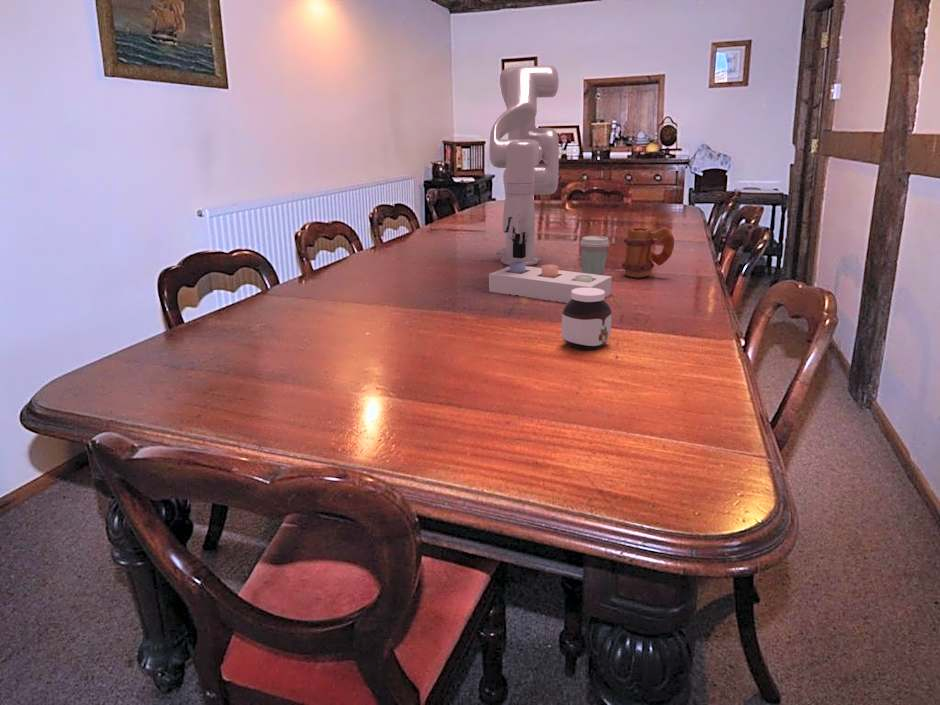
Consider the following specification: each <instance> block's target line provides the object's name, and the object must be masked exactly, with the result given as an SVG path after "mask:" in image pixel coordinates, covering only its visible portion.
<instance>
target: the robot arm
mask: <svg viewBox="0 0 940 705" xmlns="http://www.w3.org/2000/svg"><path fill="white" fill-rule="evenodd" d="M559 80H560V79H559V74H558V71H557V68H556V67H555V66H554V65H535V66H534V65H519V66H517V65H516V66H510V67H507V68H504V69H502V71H501V72H500V74H499V85H500V91H501V95H502V98H503V101H504V103H505V107H506V110H505V111H504V112H502V114H501V115H500V116H499V117H498V118H497V119H496V121H495V122H494V124H493V125H492V128H491V130H490V136H489V149H488V150H489V152H488V153H489V161H490V164H491V165H492V166H493V167H494V168H497V169H504V171H503V175H502V176H503V177H502V178H503V179H502V180H503V188H504V197H505V198H504V204H503V205H504V206H503V214H502V232H504V233H505V247H497V248H496V250H495V254H496V255H502V257H501V258H500V263H501V264H503V265H507V266H510V262H511V261H524V262H525V266H533V265H536V264H538V263H539V262H540V261H539V257H536V256H535V238H536V237H535V236H536V235H535V234H536V233H535V230H536V209H535V204H534V203H535V202H534V201H535V199H534V196H535V195H553V194H555V193H556V191H557V189H558V185H559V166H560V165H559V161H560V159H559V158H560V156H559V155H560V149H559V148H560V145H559V144H560V143H559V142H560V141H559V136H558V133H557V131H556V130H555V129H554V128H551V127H536V116H537V114H538V113H537V112H538V111H537V109H538V108H537V106H538V105H537V104H538V103H537V101H538V98H554V97H555V96H556V95H557V94H558V90H559V83H560V82H559ZM507 134H508V135H507ZM505 135H507V136H508V137H507V138H505V139H503V137H504V136H505ZM541 161H543V163H540V162H541Z"/></svg>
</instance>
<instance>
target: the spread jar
mask: <svg viewBox="0 0 940 705" xmlns="http://www.w3.org/2000/svg"><path fill="white" fill-rule="evenodd" d="M612 316H613V314H612V308H611V306H610V305H609V303H608V302H607V301H606V300H605V291H604V290H601V289H597V288H576V289H573V290H572V291H571V300H570V301H569V302H568V303H565V306H564V308H563V310H562V315H561V328H560V329H561V330H560V331H561V338H562V340H563V341H564V343H566V345H567V346H569V347H571V349H575V350H577V351H595V350H599V349H602V347H604V346H605V345H606V344H607V343H608V341H609V339H610V336H611V333H612V332H611V331H612V319H613V318H612Z"/></svg>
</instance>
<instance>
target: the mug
mask: <svg viewBox="0 0 940 705" xmlns="http://www.w3.org/2000/svg"><path fill="white" fill-rule="evenodd" d="M654 239H656V240H657V241H659V242H660V243H662V244H663V247H662V251H661V252H660V253H658V254H656V253H653V252H651V251H652V250H651V249H652V248H651V246H652V245H654V244H655V243H656V242H655V240H654ZM623 242H624V243H625V245H626V250H625V251H626V253H625V261H624V262H623V263H621V267H622V268H623V269H624V273H625V275H626V276H628V277H630V278H633V277H634V278H635V279H637V278H644V277H645V278H646V277H648V276H649V275H651V274H652V269H653V268H654V267H655V264H656V265H657V266H662V265H663V264H664V263H666V262H667V261H668V260H669V258H671V256H672V253H673V251H674V248H675V238H674V235H673V233H672V231H671V230H670V229H669V228H668V227H666V226H664V227H661V228H659V229H658V230H656V231H655V230H653V231H652V230H651V228H647V227H646V228H644V227H638V228H637V227H630V228H628V232H627V237H626V238H624V240H623ZM653 262H654V263H655V264H654V263H653Z"/></svg>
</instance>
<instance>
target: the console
mask: <svg viewBox="0 0 940 705" xmlns="http://www.w3.org/2000/svg"><path fill="white" fill-rule="evenodd" d="M578 275H589V276H592V282H590V283H588V282H580V281H575V277H576V276H578ZM541 276H542V267H535V266H530V265H525V273H523V274H517V273H510V265H508V266H507V267H503V268H501V269H499V270H496V271H493V272H490V273H488V292H489V293H495V294H502V295H509V294H511V295H510V296H515V295H519V296H518V297H522V296H525V297H524V298H529V297H530V298H529V299H537V300H543V301H549V300H550V302H556V301H558V302H557V303H563V302H564V303H565V304H567V303H568V302H569V301H570V300H571V291H572V290H573V289H576V288H597V289H601V290H604V291H605V297H606V298H607V297H609V296H611V295H612V280H613V279H612V278H613V276H610V275H604V274H603V275H596V274H587V273H583V272H578V271H569V270H559V269H558V277H556V278H548V277H541ZM610 294H611V295H610Z"/></svg>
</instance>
